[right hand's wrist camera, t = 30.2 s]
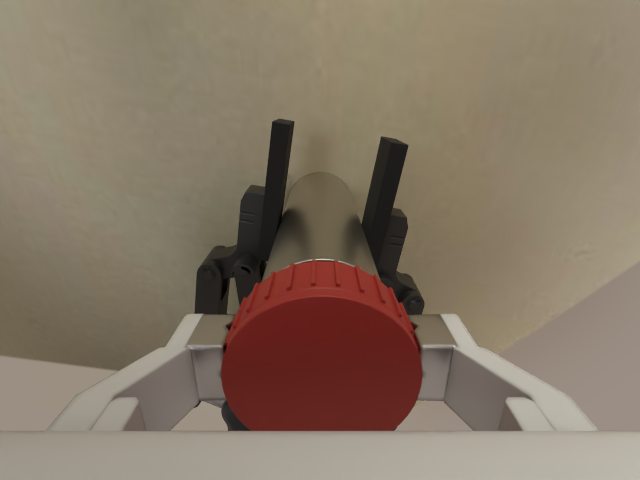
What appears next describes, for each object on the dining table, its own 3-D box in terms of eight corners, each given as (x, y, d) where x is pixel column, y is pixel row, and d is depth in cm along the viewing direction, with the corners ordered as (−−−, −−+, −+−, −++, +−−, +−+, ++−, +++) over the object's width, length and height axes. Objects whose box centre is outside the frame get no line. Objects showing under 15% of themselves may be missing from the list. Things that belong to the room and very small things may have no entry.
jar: (291, 167, 23) (247, 275, 9) (357, 177, 23) (418, 298, 9) (284, 230, 24) (236, 406, 10) (346, 238, 25) (382, 422, 11)
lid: (219, 264, 10) (197, 301, 8) (409, 250, 9) (429, 285, 8) (249, 405, 12) (236, 460, 10) (406, 396, 11) (423, 450, 10)
